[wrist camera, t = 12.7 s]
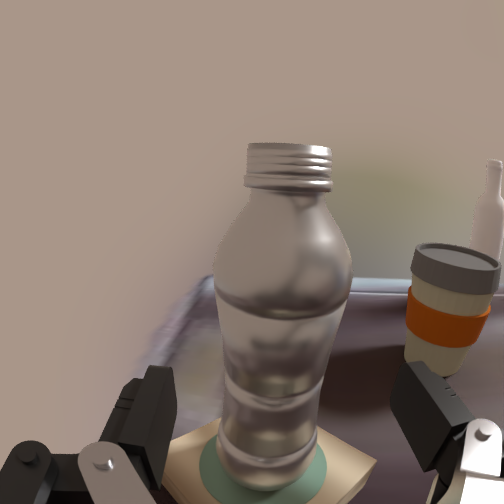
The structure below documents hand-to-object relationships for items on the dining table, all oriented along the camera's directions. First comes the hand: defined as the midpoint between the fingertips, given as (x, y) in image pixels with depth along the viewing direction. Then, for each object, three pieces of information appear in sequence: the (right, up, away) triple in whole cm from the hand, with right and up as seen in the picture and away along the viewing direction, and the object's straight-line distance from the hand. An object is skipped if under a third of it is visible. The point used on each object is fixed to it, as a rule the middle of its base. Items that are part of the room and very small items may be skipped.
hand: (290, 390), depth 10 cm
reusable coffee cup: (+24, -10, +27) cm, 37 cm away
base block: (-1, -14, +10) cm, 17 cm away
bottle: (+48, -6, +46) cm, 67 cm away
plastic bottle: (0, -10, +8) cm, 13 cm away
